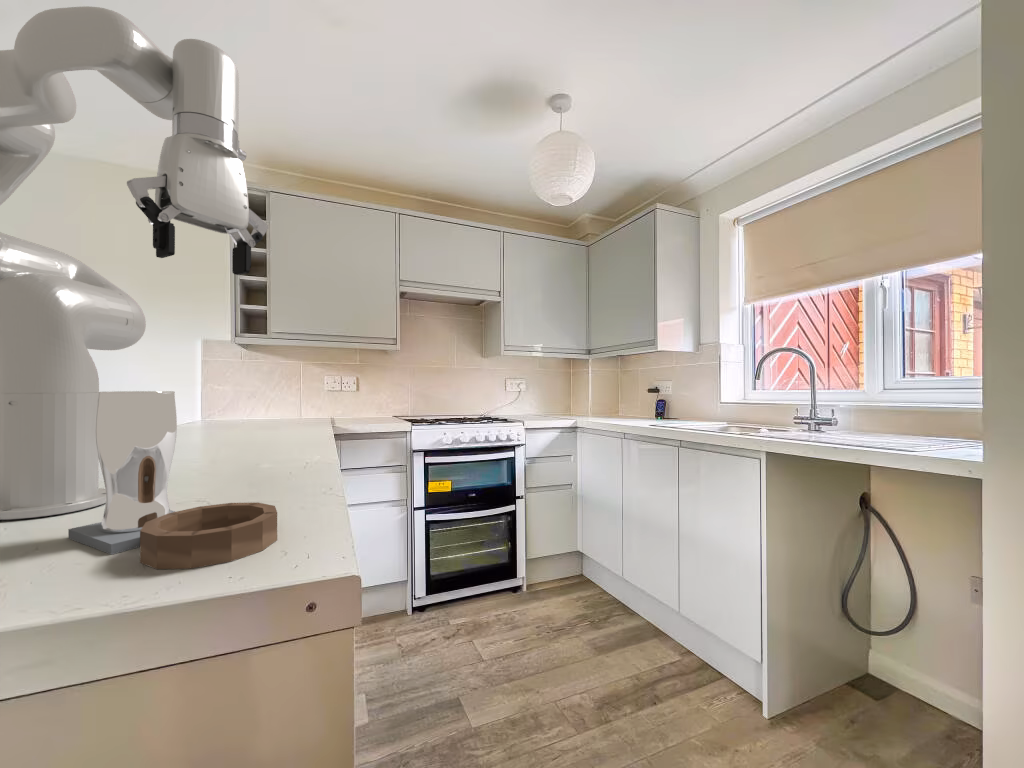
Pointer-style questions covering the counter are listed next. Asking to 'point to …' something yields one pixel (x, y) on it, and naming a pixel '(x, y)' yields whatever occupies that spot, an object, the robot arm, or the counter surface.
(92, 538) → the slate mat
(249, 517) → the ring
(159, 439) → the beer glass
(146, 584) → the counter surface
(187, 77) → the robot arm
